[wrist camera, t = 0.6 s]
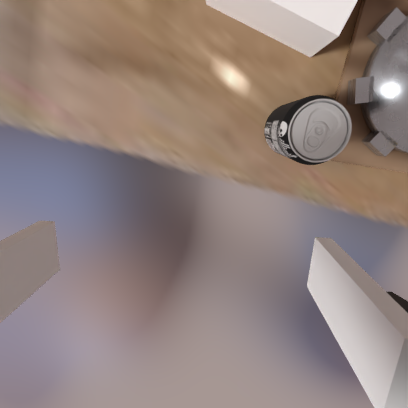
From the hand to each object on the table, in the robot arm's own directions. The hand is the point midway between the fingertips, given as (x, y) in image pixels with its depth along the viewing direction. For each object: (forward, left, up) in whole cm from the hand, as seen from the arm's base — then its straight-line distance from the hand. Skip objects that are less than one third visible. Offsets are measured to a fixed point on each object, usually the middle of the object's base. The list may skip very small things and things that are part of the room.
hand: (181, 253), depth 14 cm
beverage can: (-7, +10, -26) cm, 29 cm away
